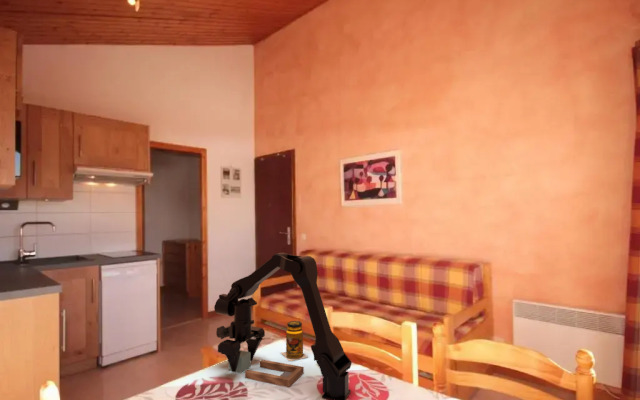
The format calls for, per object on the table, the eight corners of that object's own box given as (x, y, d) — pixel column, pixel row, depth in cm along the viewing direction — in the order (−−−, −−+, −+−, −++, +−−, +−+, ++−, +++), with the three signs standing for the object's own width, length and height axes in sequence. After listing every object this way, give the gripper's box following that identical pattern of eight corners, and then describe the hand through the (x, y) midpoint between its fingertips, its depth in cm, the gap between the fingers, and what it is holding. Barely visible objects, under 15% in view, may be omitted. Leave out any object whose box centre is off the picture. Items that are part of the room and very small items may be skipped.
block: (250, 367, 117) (250, 352, 117) (241, 373, 113) (241, 357, 113) (237, 365, 119) (238, 350, 119) (228, 370, 115) (228, 355, 115)
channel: (303, 373, 112) (303, 366, 113) (289, 387, 103) (289, 380, 103) (262, 365, 118) (262, 359, 119) (244, 378, 109) (244, 371, 109)
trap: (296, 374, 112) (296, 373, 112) (286, 383, 106) (286, 382, 106) (284, 372, 113) (284, 371, 113) (274, 381, 107) (274, 379, 107)
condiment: (289, 361, 122) (289, 326, 122) (280, 353, 129) (280, 320, 130) (308, 357, 125) (308, 323, 126) (298, 349, 133) (298, 317, 133)
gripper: (239, 308, 128) (239, 352, 127) (204, 323, 111) (203, 373, 110) (265, 311, 124) (265, 357, 123) (233, 327, 107) (232, 379, 106)
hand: (242, 366), depth 116 cm, fingers open, 9 cm apart
